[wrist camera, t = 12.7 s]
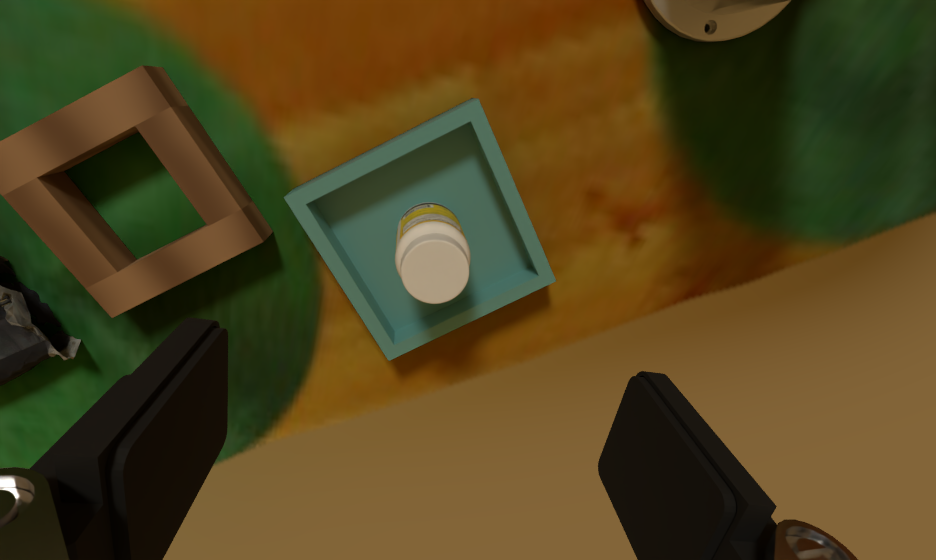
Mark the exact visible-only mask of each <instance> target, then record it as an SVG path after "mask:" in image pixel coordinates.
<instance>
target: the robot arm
mask: <svg viewBox="0 0 936 560" xmlns="http://www.w3.org/2000/svg"><path fill="white" fill-rule="evenodd" d="M644 2H645V4H646V5H647V7H648V8H649V10H650V11H651V13H652V14H653V16H654V17H655V18H656V19H657V20H658V21H659V22H660V23H661V24H662V25H663V26H664V27H666V28H667V29H668V30H670V31H672V32H673V33H675V34H677V35H678V36H680V37H683V38H686V39H690V40H693V41H698V42H717V41H725V40H730V39H734V38H737V37H741V36H745V35H747V34H749V33H751V32H753V31H755V30H757V29H759V28H761V27H762V26H763V25H765V24H766V23H767V22H769V21H770V20H771V19H773V18H774V17H776V16H777V15H778V14H779V13H780V12H781V11H782V10H783V9H784V8H785V7H786V6H787V5H788V4H789V3H790V2H791V0H644ZM705 27H706V30H705V31H704V29H705ZM227 406H228V332H227V330H226V329H224V328H220V326H219V323H218V322H217V321H214V320H205V319H197V318H186V319H185V320H184V321H183V322H182V323H181V324H180V325H179V326H178V327H177V328H176V329H175V330H174V331H173V332H172V333H171V334H170V335H169V336H168V337H167V338H166V339H165V340H164V341H163V342H162V343H161V344H160V345H159V346H158V347H157V349H156V350H155V351H154V352H153V353H152V354H151V355H150V356H149V357H148V358H147V359H146V360H145V361H144V362H143V363H142V364H141V365H140V366H139V367H138V368H137V369H136V370H135V371H134V372H133V373H132V374H131V375H126V376H123V377H122V378H121V379H119V380H118V381H117V382H116V383H115V384H114V385H113V386H112V387H111V388H110V389H109V390H108V391H107V392H106V393H105V394H104V395H103V396H102V397H101V398H100V399H99V400H98V401H97V402H96V403H95V404H94V405H93V406H92V407H91V408H90V409H89V410H88V411H87V412H86V413H85V414H84V415H83V416H82V417H81V418H80V419H79V420H78V421H77V422H76V423H75V424H74V425H73V426H72V427H71V428H70V429H69V430H68V431H67V432H66V433H65V434H64V435H63V436H62V437H61V438H60V439H59V440H58V441H57V442H56V443H55V444H54V445H53V446H52V447H51V448H50V449H49V450H48V451H47V452H46V453H45V454H44V455H43V456H42V457H41V458H40V459H39V460H38V461H37V462H36V463H35V464H34V465H33V466H32V467H31V468H30V469H25V468H18V467H12V468H0V560H163V558H164V556H165V554H166V552H167V550H168V548H169V546H170V544H171V543H172V541H173V539H174V537H175V535H176V533H177V531H178V530H179V528H180V526H181V524H182V522H183V520H184V518H185V517H186V515H187V513H188V511H189V509H190V507H191V505H192V503H193V502H194V500H195V498H196V496H197V494H198V492H199V490H200V488H201V487H202V485H203V483H204V481H205V479H206V477H207V475H208V474H209V472H210V470H211V468H212V466H213V464H214V462H215V460H216V459H217V457H218V455H219V453H220V451H221V449H222V447H223V445H224V442H225V439H226V435H227ZM598 471H599V476H600V478H601V480H602V483H603V485H604V487H605V489H606V491H607V493H608V496H609V498H610V500H611V502H612V504H613V507H614V509H615V511H616V513H617V515H618V517H619V519H620V522H621V524H622V526H623V528H624V531H625V532H626V535H627V537H628V539H629V542H630V544H631V546H632V548H633V550H634V553H635V555H636V557H637V559H638V560H858V559H857V558H856V557H855V556H854V555H853V554H852V553H851V552H850V551H849V550H848V549H847V548H846V547H845V546H844V545H843V544H841V543H840V542H839V541H838V540H836V539H835V538H834V537H833V536H831V535H829V534H828V533H826V532H824V531H822V530H821V529H819V528H817V527H815V526H813V525H810V524H808V523H805V522H802V521H798V520H783V521H782V522H779V523H778V525H777V524H776V523H775V522H774V520H773V519H772V518H771V515H772V514H773V512H774V510H775V508H776V505H775V504H774V503H773V502H772V500H771V499H770V498H769V497H768V496H767V495H766V493H765V492H764V491H763V490H762V489H761V487H760V486H759V485H758V484H757V483H756V481H755V480H754V479H753V478H752V476H751V475H750V474H749V473H748V472H747V471H746V469H745V468H744V467H743V466H742V465H741V463H740V462H739V461H738V460H737V459H736V457H735V456H734V455H733V454H732V453H731V452H730V450H729V449H728V448H727V447H726V446H725V445H724V443H723V442H722V441H721V440H720V438H719V437H718V436H717V435H716V434H715V433H714V432H713V430H712V429H711V428H710V427H709V425H708V424H707V423H706V422H705V421H704V419H703V418H702V417H701V416H700V415H699V414H698V412H697V411H696V410H695V409H694V408H693V406H692V405H691V404H690V403H689V402H688V400H687V399H686V398H685V397H684V396H683V394H682V393H681V392H680V391H679V390H678V388H677V387H676V386H675V385H674V384H673V383H672V381H671V380H670V379H669V378H668V377H667V376H666V375H665V374H661V373H653V372H644V371H641V372H639V373H638V374H637V375H636V376H633V377H631V379H630V380H629V382H628V385H627V387H626V390H625V393H624V395H623V398H622V401H621V403H620V406H619V409H618V411H617V414H616V416H615V419H614V422H613V424H612V427H611V430H610V432H609V435H608V438H607V440H606V443H605V446H604V448H603V451H602V454H601V456H600V459H599V463H598Z"/></svg>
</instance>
